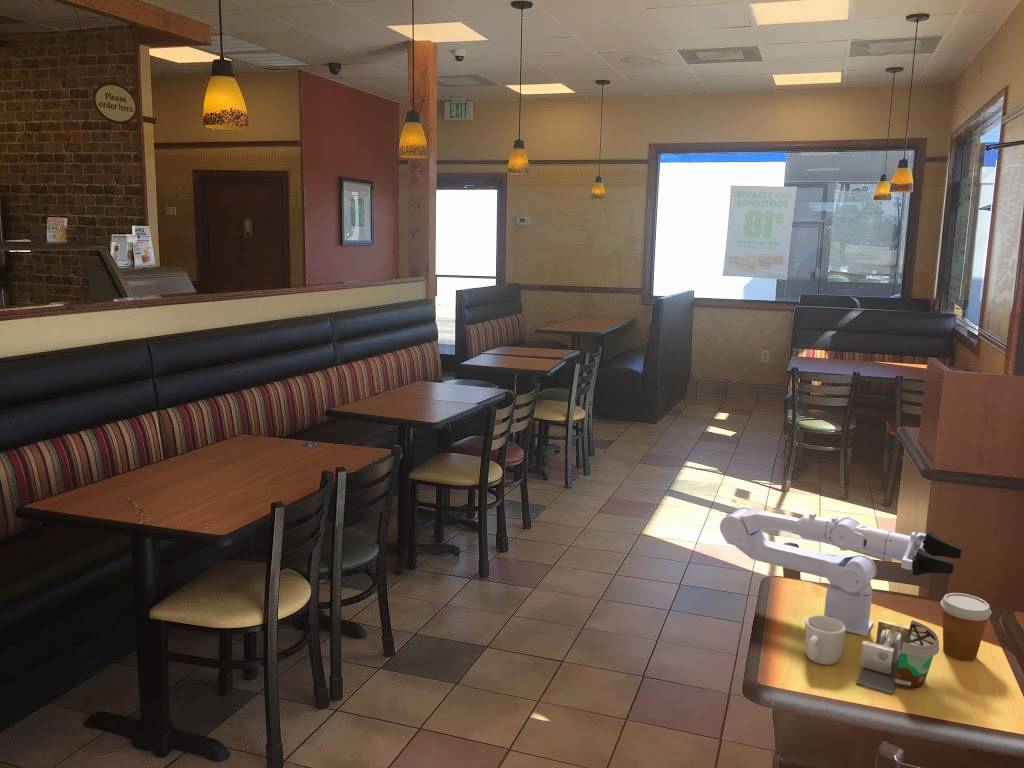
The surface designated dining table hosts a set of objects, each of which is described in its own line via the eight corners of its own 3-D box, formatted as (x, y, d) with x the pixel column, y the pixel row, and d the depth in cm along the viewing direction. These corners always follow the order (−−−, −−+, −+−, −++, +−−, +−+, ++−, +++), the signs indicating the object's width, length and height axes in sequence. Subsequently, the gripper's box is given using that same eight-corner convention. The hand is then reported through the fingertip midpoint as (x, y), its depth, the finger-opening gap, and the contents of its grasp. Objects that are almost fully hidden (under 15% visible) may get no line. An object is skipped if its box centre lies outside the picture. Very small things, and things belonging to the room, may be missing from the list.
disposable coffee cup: (991, 667, 177) (998, 614, 175) (941, 662, 179) (948, 608, 176) (976, 645, 186) (983, 594, 184) (929, 640, 188) (935, 589, 186)
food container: (926, 701, 164) (937, 654, 162) (892, 688, 167) (902, 643, 165) (934, 673, 174) (944, 629, 172) (902, 662, 177) (911, 618, 175)
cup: (827, 678, 171) (831, 641, 170) (789, 664, 177) (793, 628, 175) (848, 659, 179) (852, 623, 178) (811, 645, 184) (815, 611, 183)
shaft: (859, 666, 174) (862, 643, 173) (872, 640, 185) (874, 619, 184) (890, 674, 171) (892, 651, 170) (901, 648, 182) (903, 626, 181)
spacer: (875, 644, 183) (878, 621, 182) (877, 642, 184) (879, 619, 183) (906, 652, 179) (909, 629, 178) (907, 650, 180) (910, 626, 179)
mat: (856, 684, 169) (856, 682, 169) (876, 642, 187) (876, 640, 187) (891, 694, 166) (892, 692, 166) (909, 650, 183) (909, 649, 183)
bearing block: (877, 660, 179) (880, 635, 178) (880, 653, 182) (883, 628, 181) (895, 665, 177) (898, 640, 176) (898, 658, 180) (901, 633, 179)
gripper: (881, 541, 180) (951, 558, 172) (899, 515, 191) (966, 530, 183) (878, 570, 182) (947, 589, 174) (896, 543, 193) (962, 559, 185)
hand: (957, 561), depth 179 cm, fingers open, 7 cm apart
